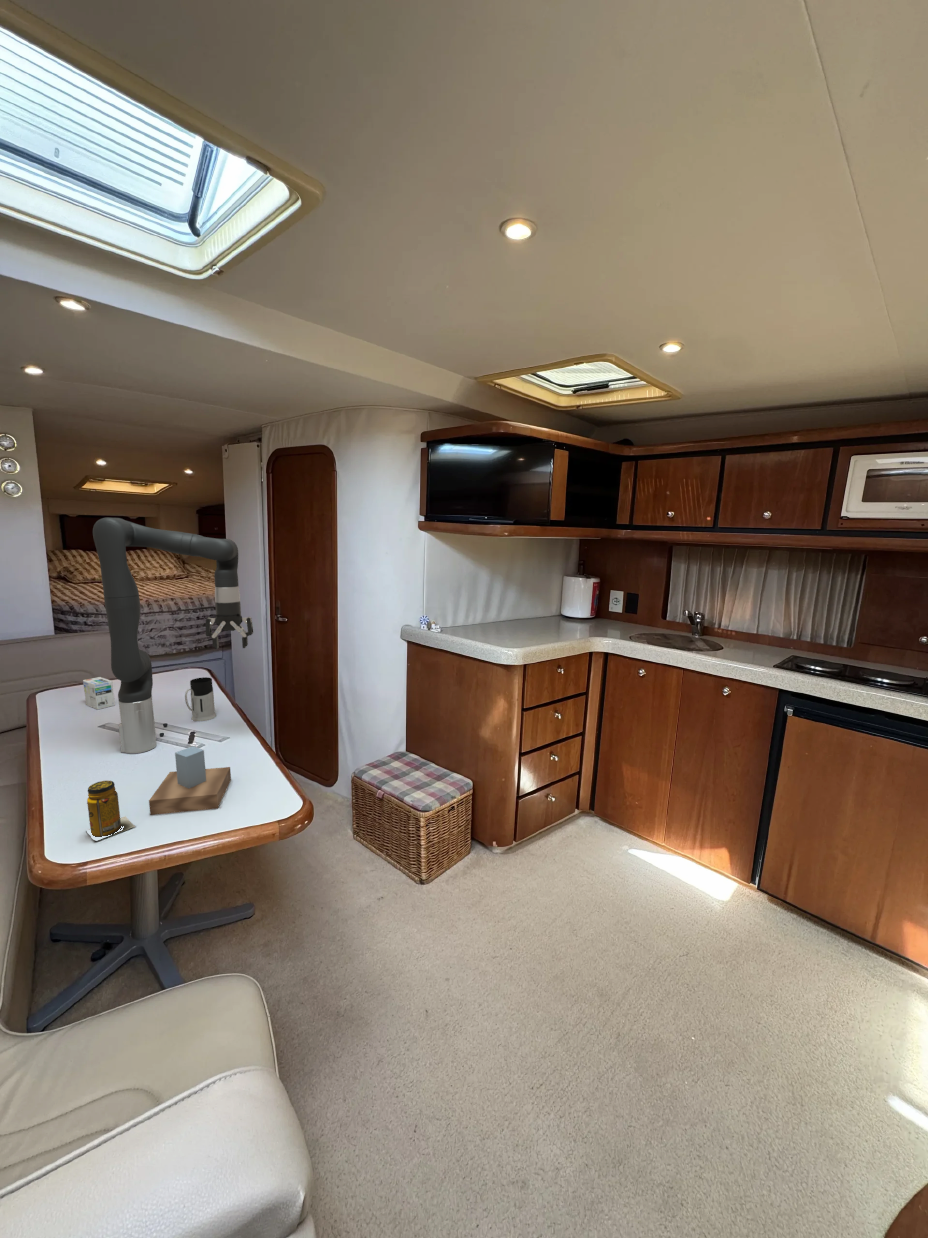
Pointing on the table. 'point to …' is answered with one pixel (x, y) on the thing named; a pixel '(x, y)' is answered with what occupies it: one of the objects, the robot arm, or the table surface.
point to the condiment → (105, 810)
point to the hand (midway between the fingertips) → (230, 648)
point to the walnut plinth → (190, 793)
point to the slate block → (190, 767)
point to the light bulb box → (99, 693)
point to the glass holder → (201, 699)
